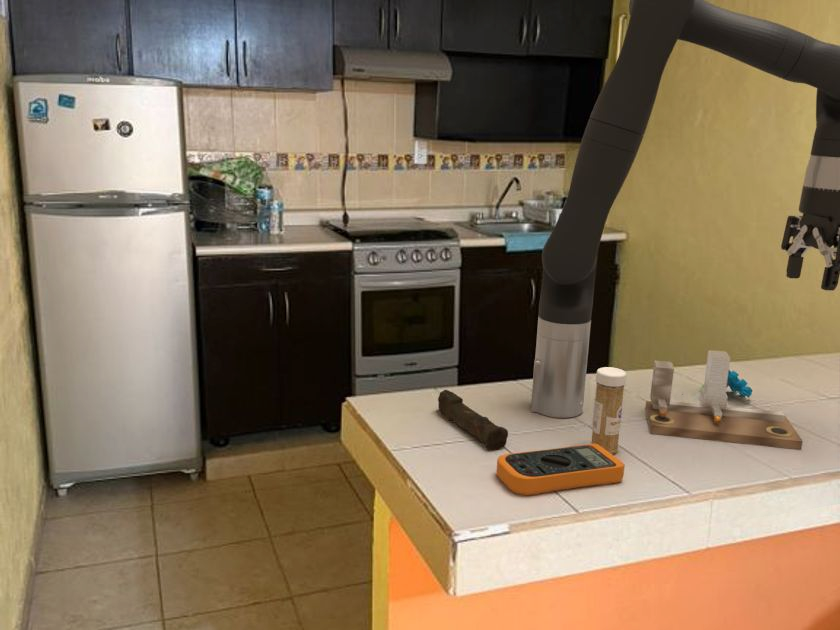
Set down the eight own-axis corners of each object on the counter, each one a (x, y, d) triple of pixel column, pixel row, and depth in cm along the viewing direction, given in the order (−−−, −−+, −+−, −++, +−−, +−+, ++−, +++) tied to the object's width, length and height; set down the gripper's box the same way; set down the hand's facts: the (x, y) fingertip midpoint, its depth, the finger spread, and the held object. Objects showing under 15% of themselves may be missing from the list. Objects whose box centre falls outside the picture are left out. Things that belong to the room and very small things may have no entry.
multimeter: (490, 474, 116) (491, 453, 116) (595, 460, 122) (597, 440, 121) (515, 500, 109) (517, 478, 108) (626, 485, 115) (628, 463, 114)
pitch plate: (650, 433, 133) (656, 379, 130) (645, 408, 144) (651, 358, 142) (801, 449, 128) (810, 394, 126) (783, 422, 140) (791, 371, 137)
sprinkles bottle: (617, 457, 123) (625, 376, 119) (588, 453, 124) (595, 373, 121) (619, 446, 127) (627, 368, 124) (590, 442, 128) (598, 364, 125)
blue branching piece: (764, 397, 147) (732, 361, 145) (743, 419, 147) (711, 384, 145) (729, 385, 158) (699, 351, 156) (710, 406, 158) (679, 373, 156)
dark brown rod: (508, 449, 125) (510, 422, 124) (487, 453, 123) (488, 426, 122) (452, 409, 141) (453, 385, 140) (432, 412, 140) (434, 387, 138)
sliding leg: (705, 421, 133) (713, 364, 130) (698, 404, 141) (705, 349, 138) (730, 424, 132) (738, 366, 129) (721, 406, 140) (729, 351, 138)
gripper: (779, 180, 131) (763, 274, 135) (840, 189, 118) (820, 294, 122) (818, 181, 133) (800, 274, 137) (882, 191, 119) (861, 294, 124)
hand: (809, 283), depth 129 cm, fingers open, 8 cm apart
